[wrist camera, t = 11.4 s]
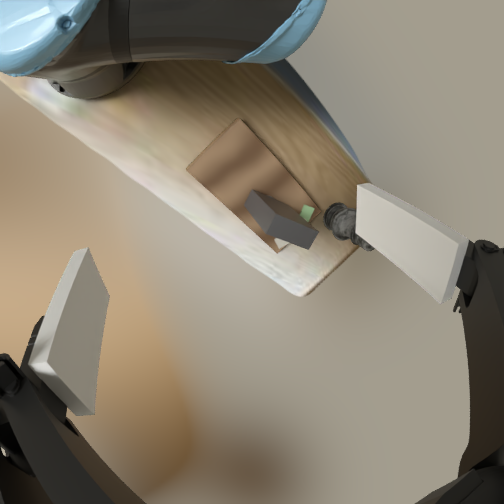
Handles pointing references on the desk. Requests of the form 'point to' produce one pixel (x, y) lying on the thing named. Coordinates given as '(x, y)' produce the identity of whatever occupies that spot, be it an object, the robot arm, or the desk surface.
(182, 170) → the desk surface
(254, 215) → the grey block
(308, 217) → the dial marks
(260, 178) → the board
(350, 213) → the dark grey chess piece
